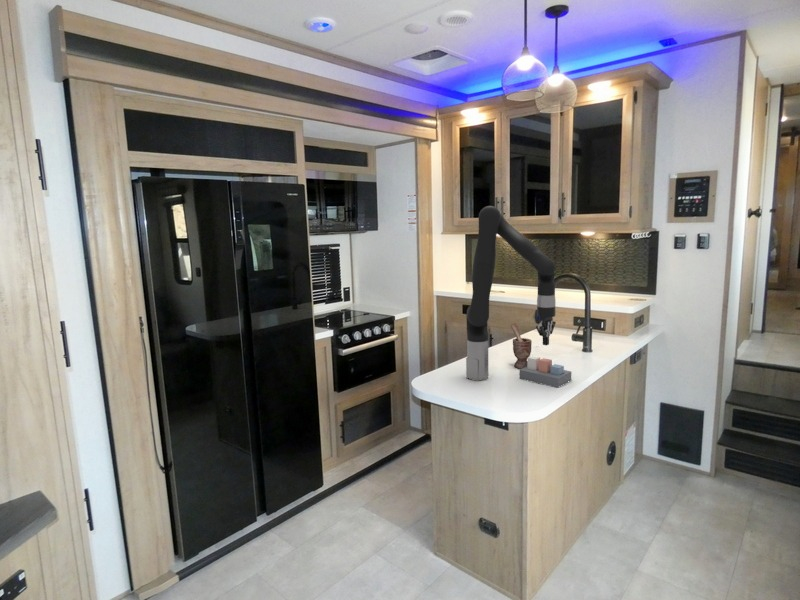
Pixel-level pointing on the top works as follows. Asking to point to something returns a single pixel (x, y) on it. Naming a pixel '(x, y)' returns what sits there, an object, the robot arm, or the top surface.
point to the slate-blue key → (557, 369)
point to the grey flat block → (545, 377)
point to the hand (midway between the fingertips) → (545, 344)
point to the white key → (533, 363)
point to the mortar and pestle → (520, 348)
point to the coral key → (545, 365)
